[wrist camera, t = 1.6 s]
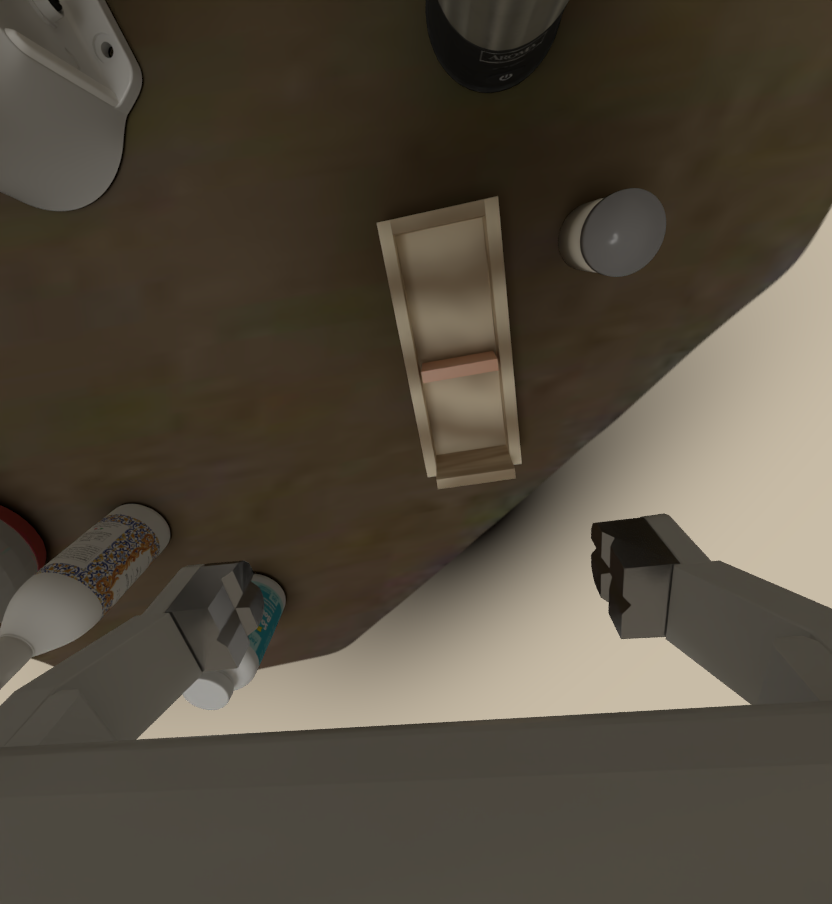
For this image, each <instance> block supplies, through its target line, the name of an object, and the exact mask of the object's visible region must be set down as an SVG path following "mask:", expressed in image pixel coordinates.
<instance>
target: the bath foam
mask: <svg viewBox="0 0 832 904" xmlns="http://www.w3.org/2000/svg"><path fill="white" fill-rule="evenodd" d="M169 540H170V529H169V526H168V524H167V522H166V521H165V520H164V518H163V517H162V516H161V515H160V514H159V513H157V512H156V511H154V510H153V509H151V508H148V507H146V506H143V505H139V504H125V505H121V506H119V507H117V508H116V509H114V510H113V511H112V512H110V513H109V514H108V515H107V516H106V517H104V518H103V519H102V520H100V521H99V522H98V523H97V524H95V525H94V526H93V527H92V528H90V529H89V530H88V531H87V532H86V533H84V534H83V535H82V536H81V537H79V538H78V539H77V540H76V541H74V542H73V543H72V544H71V545H69V546H68V547H67V548H66V549H65V550H63V551H62V552H61V553H60V554H58V555H57V556H56V557H55V558H53V559H52V560H51V561H50V562H49V563H47V564H46V565H45V566H44V567H42V568H41V569H40V570H39V571H37V572H36V573H35V574H34V575H32V576H31V577H30V578H29V579H28V580H27V581H26V582H25V583H24V584H23V585H22V586H21V587H20V588H19V589H18V591H17V592H16V593H15V595H14V596H13V597H12V599H11V601H10V602H9V604H8V606H7V609H6V611H5V614H4V617H3V621H2V625H1V628H0V689H1V688H2V687H3V686H4V685H5V684H6V683H7V682H8V681H9V680H10V679H11V678H12V677H13V676H14V675H15V674H16V673H17V672H18V671H19V670H20V669H21V668H22V667H23V666H24V665H25V664H26V663H27V662H28V661H29V659H30V658H32V657H34V656H37V655H39V654H42V653H45V652H48V651H51V650H53V649H56V648H59V647H61V646H63V645H66V644H68V643H70V642H72V641H74V640H75V639H77V638H79V637H80V636H82V635H83V634H85V633H86V632H87V631H88V630H90V629H91V628H92V627H93V626H94V625H95V624H96V623H98V622H99V621H100V620H101V618H102V617H103V616H104V615H105V614H106V613H107V612H108V611H109V610H110V608H111V607H112V606H113V605H114V604H115V603H116V602H117V601H118V600H119V598H120V597H121V596H122V595H123V594H124V593H125V592H126V591H127V590H128V588H129V587H130V586H131V585H132V584H133V583H134V582H135V581H136V580H137V579H138V577H139V576H140V575H141V574H142V573H143V572H144V571H145V570H146V569H147V567H148V566H149V565H150V564H151V563H152V562H153V561H154V560H155V559H156V557H157V556H158V555H159V554H160V553H161V552H162V551H163V549H164V548H165V547H166V546H167V544H168V543H169Z"/></svg>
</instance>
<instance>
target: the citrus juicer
mask: <svg viewBox="0 0 832 904" xmlns="http://www.w3.org/2000/svg"><path fill="white" fill-rule="evenodd" d="M45 561H46V549H45V546H44V542H43V540H42V539H41V537H40V536H39V534H38V533H37V532H36V530H35V529H34V528H33V527H32V526H31V525H30V524H29V523H28V522H27V521H26V520H24V519H23V518H22V517H20V516H19V515H18V514H16V513H14V512H13V511H11V510H9V509H7V508H5V507H3V506H1V505H0V623H1V622H2V621H3V617H4V614H5V611H6V609H7V606H8V604H9V602H10V601H11V599H12V597H13V596H14V595H15V593H16V592H17V591H18V589H19V588H20V587H21V586H22V585H23V584H24V583H25V582H26V581H27V580H28V579H29V578H30V577H31V576H32V575H34V574H35V573H36V572H37V571H39V570H40V569H41V568H42V567H44V564H45Z"/></svg>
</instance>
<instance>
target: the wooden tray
mask: <svg viewBox="0 0 832 904" xmlns="http://www.w3.org/2000/svg"><path fill="white" fill-rule="evenodd" d="M377 228H378V233H379V237H380V242H381V247H382V252H383V257H384V262H385V267H386V272H387V277H388V282H389V287H390V292H391V297H392V302H393V307H394V312H395V317H396V322H397V327H398V332H399V337H400V342H401V347H402V352H403V357H404V362H405V367H406V372H407V377H408V382H409V386H410V391H411V396H412V401H413V406H414V411H415V416H416V421H417V426H418V431H419V436H420V441H421V446H422V451H423V456H424V461H425V466H426V471H427V476H428V477H433V476H436V480H437V485H438V489H443V488H450V487H457V486H464V485H471V484H478V483H486V482H493V481H500V480H507V479H514V478H516V477H515V468H514V465H516V464H522V462H521V451H520V439H519V428H518V417H517V405H516V394H515V382H514V371H513V360H512V348H511V337H510V326H509V314H508V303H507V292H506V280H505V269H504V258H503V246H502V235H501V224H500V212H499V201H498V196H496V197H492V198H487V199H483V200H478V201H474V202H469V203H465V204H460V205H456V206H451V207H447V208H442V209H437V210H433V211H428V212H424V213H419V214H415V215H410V216H406V217H401V218H397V219H392V220H388V221H383V222H378V223H377ZM488 351H493V352H494V353H495V355H496V357H497V359H498V368H499V370H498V371H492V372H487V373H481V374H475V375H469V376H463V377H457V378H452V379H446V380H440V381H434V382H428V383H423V379H422V373H421V370H422V363H426V362H432V361H438V360H443V359H449V358H455V357H460V356H466V355H472V354H477V353H483V352H488Z"/></svg>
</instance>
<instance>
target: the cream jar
mask: <svg viewBox="0 0 832 904" xmlns="http://www.w3.org/2000/svg"><path fill="white" fill-rule="evenodd" d="M665 231H666V216H665V211H664V208H663V206H662V204H661V202H660V201H659V200H658V198H657V197H656V196H654V195H653V194H652V193H650V192H648V191H646V190H643V189H638V188H630V189H625V190H621V191H618V192H615V193H612V194H610V195H608V196H606V197H604V198H601V199H598V200H594V201H591V202H588V203H585V204H582V205H580V206H578V207H577V208H575V209H574V210H573V211H572V212H571V213H570V214H569V215H568V216H567V217H566V219H565V220H564V222H563V224H562V226H561V229H560V232H559V237H558V248H559V252H560V255H561V257H562V259H563V260H564V261H565V263H566V264H567V265H569V266H570V267H572V268H574V269H577V270H582V271H589V272H596V273H599V274H602V275H606V276H613V277H620V276H626V275H630V274H632V273H634V272H636V271H638V270H640V269H641V268H643V267H644V266H645V265H646V264H648V263H649V262H650V261H651V260H652V258H653V257H654V256H655V255H656V253H657V252H658V250H659V248H660V246H661V244H662V242H663V239H664V235H665Z"/></svg>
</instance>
